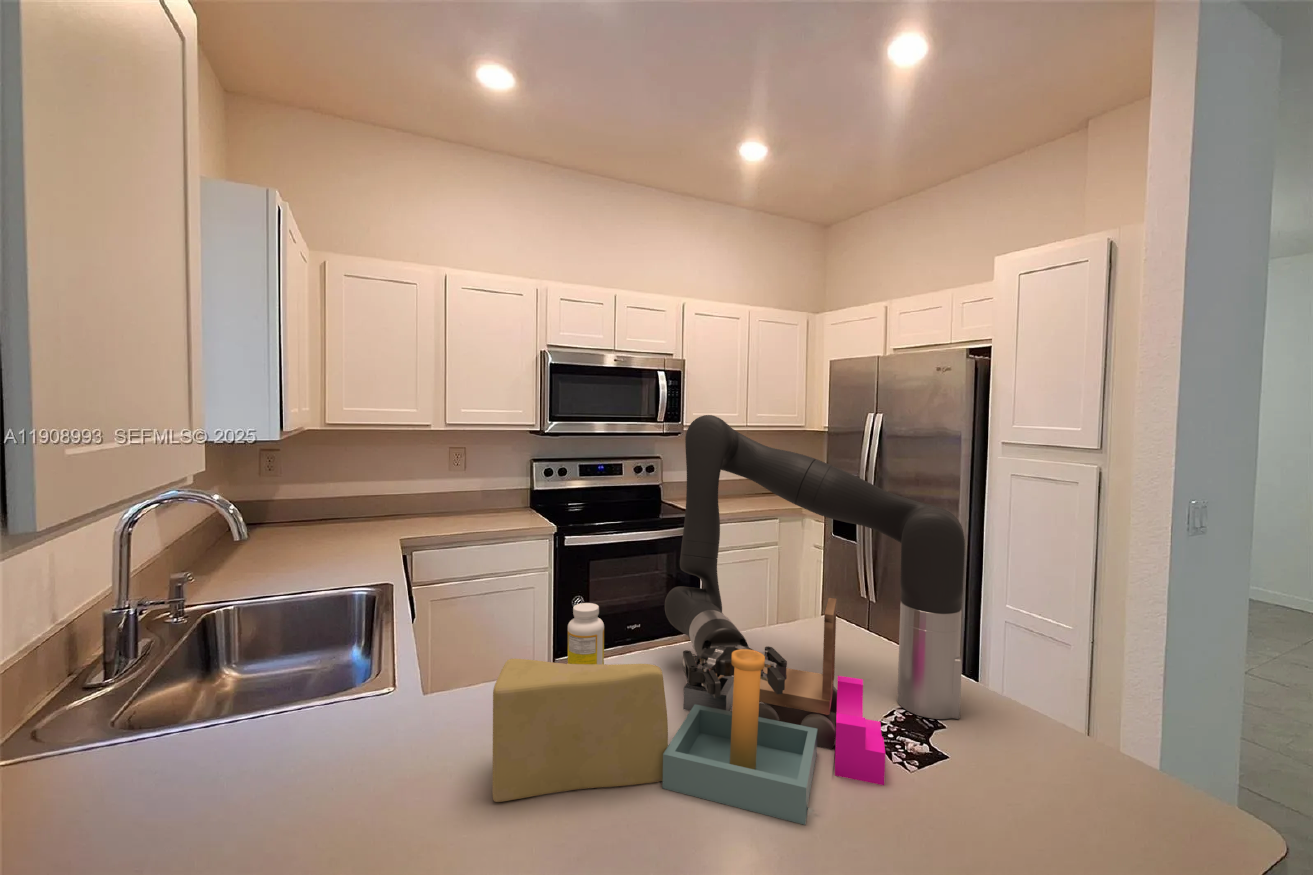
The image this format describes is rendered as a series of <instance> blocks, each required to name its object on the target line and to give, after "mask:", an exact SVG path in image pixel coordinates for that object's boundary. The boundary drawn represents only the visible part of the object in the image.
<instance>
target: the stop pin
mask: <svg viewBox="0 0 1313 875" xmlns="http://www.w3.org/2000/svg"><path fill="white" fill-rule="evenodd" d="M760 652H761V651H760ZM760 652H759V651H757V650H755V651H754V649H753V650H748V649H740V650H735V651H733V652H732V659H731V664H732V665H733V666H734V687H733V705H732V707H731V710H732V711H731V712H732V727H731V747H730V764H732V765H737V766H741V767H745V768H749V769H754V770H755V769H756V754H757V734H758V715H759V703H760V702H759V695H760V676H761V670H762V669H763V668H764V665H765V656H764V655H763V654H762V653H760Z"/></svg>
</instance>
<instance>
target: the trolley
mask: <svg viewBox="0 0 1313 875" xmlns="http://www.w3.org/2000/svg"><path fill="white" fill-rule="evenodd" d="M837 600H838V599H837V598H833V597H832V598H831V597H828V600H827V603H826V608H825V610H824V619H823V649H822V650H823V653H822V654H823V657H822V673H819V672H811V671H806V670H800V669H794V668H789V667H787V669H786V675H787V679H786V680H785V690H783V693H782V694H776V693H775V692H774V690H773V689H772V688H771V686H770V685H769V684H768V682H767V681H765V680H762V679H760V695H759V715H758V717H761V718H766V719H771V720H776V721H781V720H780V716H779V715H778V712H777V711H776V710H775V708H773V707H772V706H770V705H774V706H779V707H784V708H789V709H795V710H801V711H806V712H812V713H810V714H807V715H806V716H804V717H803V719H802V720H801V722H800V725H801V726H806V727H811V728H816V729H818V733H817V748H823V749H826V750H832V749H833V748H834V746H835V744H836V726H834V724H833V722H832V721H831V720H830V719H829V718H828V717H826V716H830V713H835V714H837V687H835V686H834V682H835V668H836V666H835V664H836V663H835V662H836V636H837V634H836V632H837V631H836V629H837ZM763 671H764V673H767V668H765V667H764V668H763ZM825 715H826V716H825Z"/></svg>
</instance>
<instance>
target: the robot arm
mask: <svg viewBox="0 0 1313 875" xmlns="http://www.w3.org/2000/svg"><path fill="white" fill-rule="evenodd" d="M684 440H685V441H684V442H685V443H684V444H685V462H686V463H685V464H686V466H685V467H686V490H685V492H686V494H685V495H686V497H685V498H686V499H685V509H684V510H685V512H684V523H683V531H682V539H681V540H682V541H681V548H680V557H679V568H680V570H681V571H682V572H684V573H686V574H688V575H692V576H695V577H697V578H699V580H700V581H701V583H702V588H700V587H690V586H675V587H673V588H672V589H671V590H669V592H668V593H667V595H666V597H665V600H664V611H665V616H666V618H667V620H668V622H669V624H670V625H671V626H673V627H674V628H675V629H676V630H678V631H679V632H681V633H682V634H683V635H684V636H687V637H688V638H689V640H690V644H691V646H692V649H693V650H694V652H695V653H694V654H693V653H692V651H691V650H683V651H682V670H683V673H684V676H685V678H686V683H687V682H688V684H689V685H696V684H697V682H699V683H702V686H704V687H705V688H706V690H707V692H708V693H709V694H710V695H713V696H714V698H720V692H721V684H720V681H719V679H720V678H721V677H724V676H734V666H733V665H732V664H731V659H732V652H733V651H735V650H740V649H748V650H754V649H753V648H750V647H749V644H748V642H747V640H746V638H745V637H744V635H743V634H742V632H740V630H739V629H738V628H737V626H736V624H734V623H733V622H732V620H731V619H730V618H729V617H727V616H726V615H725V614H724V613H723V603H722V597H721V592H720V585H719V578H718V557H719V549H720V548H719V547H720V538H721V520H720V507H719V484H720V476H721V471H724V472H727V473H730V474H734V475H737V476H739V477H742V478H745V479H747V480H750V481H752V482H754V483H756V484H758V485H760V486H762V487H763V488H764V489H765V490H767V491H769V492H771V493H772V494H773V495H776V496H778V497H780V498H782V499H784V500H785V501H787V502H789V503H791V504H793V505H796V506H798V507H799V508H802V509H804V510H806V511H809V512H811V513H813V514H815V515H819V516H822V517H824V518H828V519H831V520H835V521H840V522H844V523H847V524H854V525H857V526H862V527H864V528H868V529H871V530H874V531H877V532H878V533H880V534H883V535H885V536H887V537H889V538H891V539H893V540H895V541H896V542H898V543H900V545H901V546H900V576H899V577H900V580H899V581H900V582H899V585H900V606H899V608H900V610H899V611H900V612H899V613H900V615H899V633H898V634H899V637H898V639H899V640H898V663H897V664H898V668H897V670H898V671H897V687H896V688H897V690H896V691H897V693H896V694H897V696H896V697H897V698H896V701H897V703H898V704H899V706H900V707H902V708H903V709H904V710H906V711H907V712H910V713H912V714H914V715H916V716H920V717H922V718H923V717H924V718H927V719H934V720H935V719H936V720H947V719H957V720H960V716H961V715H960V714H961V692H962V691H961V690H962V671H963V670H962V668H963V666H962V664H963V660H962V658H961V653H960V652H961V635H962V634H961V631H962V606H963V604H962V603H963V594H964V576H965V575H964V574H965V571H964V570H965V555H966V554H965V553H966V552H965V550H966V548H965V547H966V544H965V543H966V542H965V541H966V539H965V533H964V529H963V526H962V524H961V522H960V520H959V519H958V518H957V517H956V516H955V514H953V513H952V512H950V511H949V510H947V509H944V508H943V507H938V506H935V505H932V504H928V503H924V502H920V501H918V500H914V499H911V498H907V497H904V496H902V495H901V496H900V495H898V494H895V493H892V492H890V491H887V490H884V489H883V488H881V487H878V486H877V485H875V484H872V483H870V481H867V480H864V479H863V478H860V476H859V477H858V476H856V475H855V474H852V473H850V472H848V471H845V470H843V469H841V468H839V467H836V466H834V465H832V464H829V463H827V462H824V461H822V460H819V459H816V458H814V457H811V456H809V455H805V454H803V453H798V452H795V451H794V452H793V451H789V450H784V449H781V448H780V449H779V448H775V447H771V446H767V445H764V444H762V443H761V442H758V441H755V440H754V439H752V438H749V437H748V436H746V435H744V434H742V433H740V432H738V431H737V430H735V429H734V428H732V426H730V425H729V424H728V423H727V422H726V421H724V420H723V419H722V418H720V417H718V416H715V415H712V414H706V415H704V414H703V415H701V416H699V417H697V418H695V419H694V420H692V422H691V423H690V424H689V426H688V427H687V429H686V432H685V439H684ZM776 650H777V649H775V648H774V647H772V646H765V647H764V651H762V652H761V651H760V653H762V654H763V655H764V656H765V665H764V667H765V668H767V673H764V671H763V669H762V670H761V676H760V679H762V680H765V681H767V682H768V684H769V685H770V686H771V688H772V689H773V690H774V692H775V693H776V694H782V693H783V690H785V680H786V679H787V675H786V669H787V668H788V667H787V666H788V661H787V660H786V658H784V657H783V656H782V655H781V654H780V653H779V652H778V651H776ZM754 651H756V650H754ZM699 666H701V668H698V667H699Z"/></svg>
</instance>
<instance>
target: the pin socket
mask: <svg viewBox="0 0 1313 875" xmlns="http://www.w3.org/2000/svg"><path fill="white" fill-rule="evenodd" d="M719 681H720V684H721V692H720V698H714V696H713V695H710V694H709V693H708V692H707V690H706V688H705V687H704V686H702V683H699V682H697V684H696V685H689V684H688V682H687V681H686V684H685V685H684V687H683V705H682V706H683V707H682V710H684V711H689V712H690V711H691V709H692V708H693V706H694V705H695V704H696V705H701V706H706V707H711V708H716V709H721V710H726V711H731V710H732V707H733V687H734V676H724V677H721V678H720V679H719Z"/></svg>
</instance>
